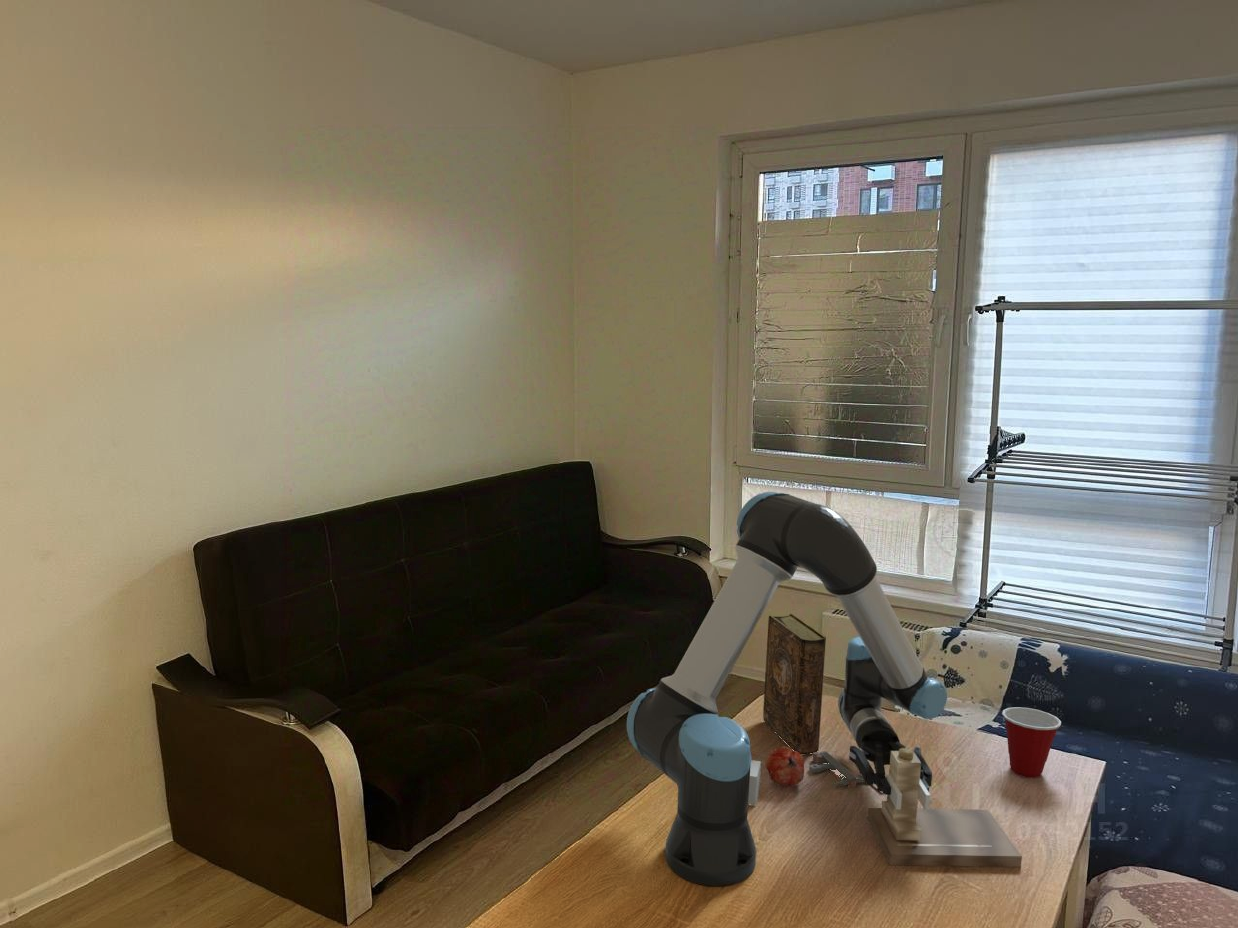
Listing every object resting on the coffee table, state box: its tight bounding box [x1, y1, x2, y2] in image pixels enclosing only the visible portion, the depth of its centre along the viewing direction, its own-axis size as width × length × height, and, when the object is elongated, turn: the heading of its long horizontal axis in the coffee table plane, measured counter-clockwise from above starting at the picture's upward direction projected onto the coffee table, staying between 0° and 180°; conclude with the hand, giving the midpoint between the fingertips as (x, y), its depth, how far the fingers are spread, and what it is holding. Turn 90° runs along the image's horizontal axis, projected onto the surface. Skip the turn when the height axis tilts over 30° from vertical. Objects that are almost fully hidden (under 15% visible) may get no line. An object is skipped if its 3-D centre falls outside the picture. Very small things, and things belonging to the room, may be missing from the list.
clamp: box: [809, 751, 877, 788], centre depth 181 cm, size 15×2×10 cm
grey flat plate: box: [866, 807, 1023, 868], centre depth 159 cm, size 22×14×2 cm, turn 90°
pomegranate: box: [765, 746, 805, 787], centre depth 178 cm, size 7×7×10 cm
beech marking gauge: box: [881, 747, 921, 840], centre depth 159 cm, size 4×9×14 cm, turn 0°
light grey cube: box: [748, 759, 762, 806], centre depth 173 cm, size 6×6×6 cm
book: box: [762, 613, 827, 755], centre depth 195 cm, size 16×6×25 cm, turn 17°
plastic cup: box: [1001, 706, 1062, 779], centre depth 183 cm, size 11×11×12 cm
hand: (913, 801), depth 154 cm, fingers open, 4 cm apart
